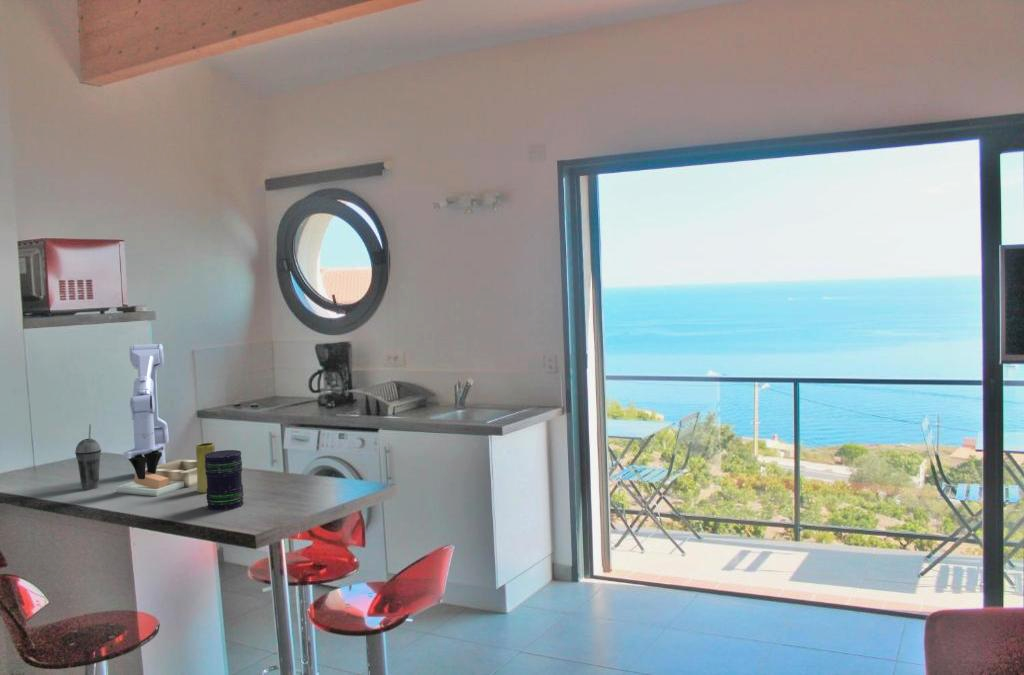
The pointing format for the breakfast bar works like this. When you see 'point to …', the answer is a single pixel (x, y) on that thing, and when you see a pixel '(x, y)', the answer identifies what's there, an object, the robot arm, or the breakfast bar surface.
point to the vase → (202, 465)
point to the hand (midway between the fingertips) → (146, 477)
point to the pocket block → (179, 471)
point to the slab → (152, 480)
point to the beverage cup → (88, 462)
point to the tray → (144, 490)
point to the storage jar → (224, 480)
